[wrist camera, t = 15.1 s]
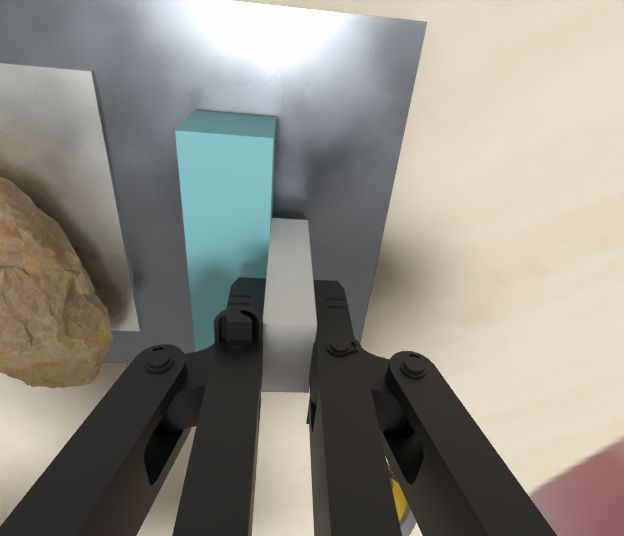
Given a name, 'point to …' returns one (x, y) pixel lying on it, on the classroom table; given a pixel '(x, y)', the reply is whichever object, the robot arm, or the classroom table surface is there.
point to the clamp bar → (224, 207)
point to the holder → (175, 110)
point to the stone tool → (45, 300)
